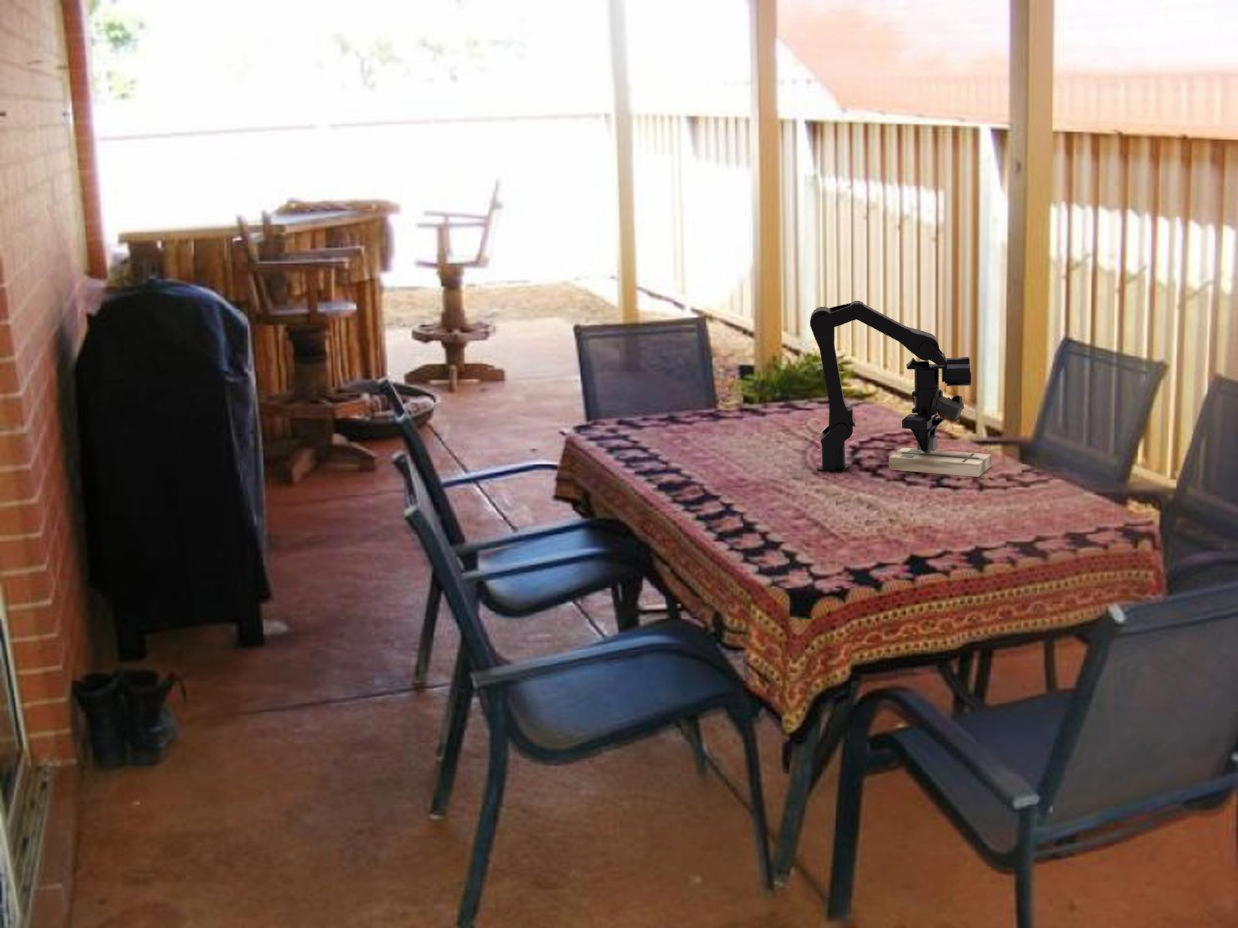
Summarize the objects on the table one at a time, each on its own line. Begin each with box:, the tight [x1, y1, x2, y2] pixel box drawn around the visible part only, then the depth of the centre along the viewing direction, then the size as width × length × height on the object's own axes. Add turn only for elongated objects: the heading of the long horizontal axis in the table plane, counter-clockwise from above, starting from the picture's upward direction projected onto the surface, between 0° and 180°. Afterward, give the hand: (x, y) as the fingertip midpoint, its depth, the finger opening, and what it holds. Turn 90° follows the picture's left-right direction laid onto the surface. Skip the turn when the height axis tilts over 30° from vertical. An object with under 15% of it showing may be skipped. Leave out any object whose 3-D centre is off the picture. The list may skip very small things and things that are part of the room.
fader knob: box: [916, 435, 938, 454], centre depth 363 cm, size 3×4×4 cm
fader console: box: [888, 447, 992, 478], centre depth 363 cm, size 10×22×3 cm, turn 60°
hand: (927, 450), depth 363 cm, fingers closed on fader knob, 3 cm apart
